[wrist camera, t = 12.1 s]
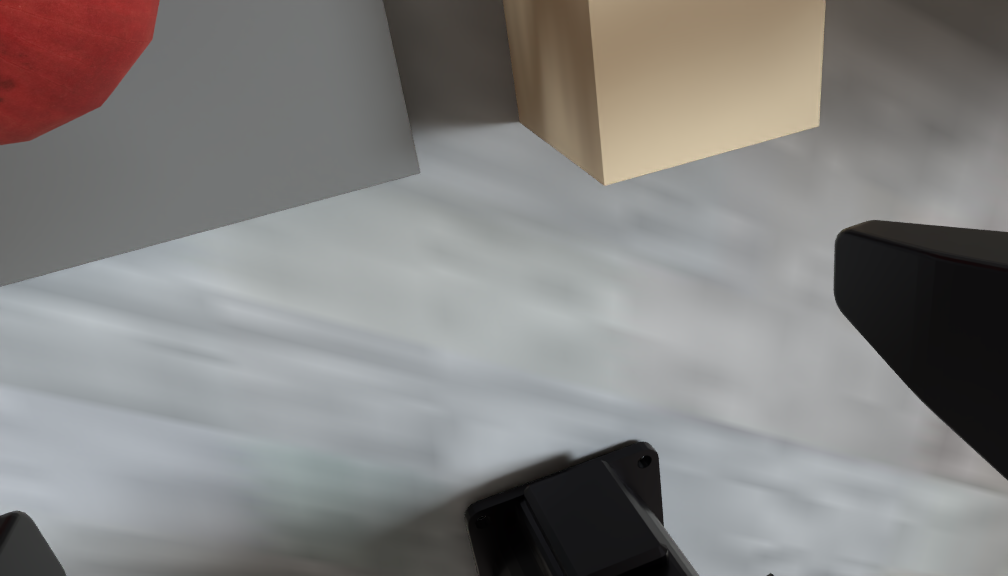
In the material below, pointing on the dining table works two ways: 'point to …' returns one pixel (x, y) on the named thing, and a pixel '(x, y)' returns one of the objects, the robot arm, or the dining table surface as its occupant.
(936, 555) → the dining table surface
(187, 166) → the gray board
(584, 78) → the beech block
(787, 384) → the dining table surface
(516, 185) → the dining table surface
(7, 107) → the onion
